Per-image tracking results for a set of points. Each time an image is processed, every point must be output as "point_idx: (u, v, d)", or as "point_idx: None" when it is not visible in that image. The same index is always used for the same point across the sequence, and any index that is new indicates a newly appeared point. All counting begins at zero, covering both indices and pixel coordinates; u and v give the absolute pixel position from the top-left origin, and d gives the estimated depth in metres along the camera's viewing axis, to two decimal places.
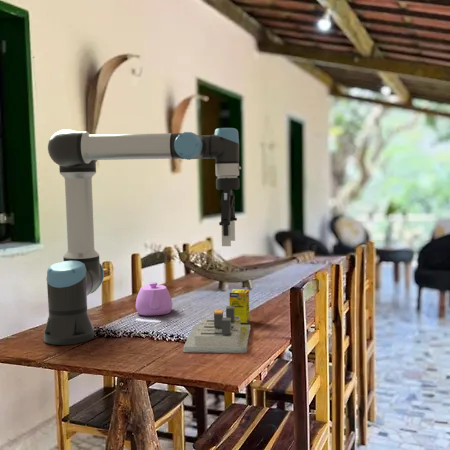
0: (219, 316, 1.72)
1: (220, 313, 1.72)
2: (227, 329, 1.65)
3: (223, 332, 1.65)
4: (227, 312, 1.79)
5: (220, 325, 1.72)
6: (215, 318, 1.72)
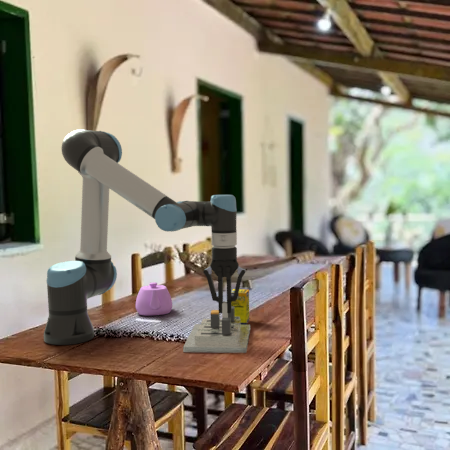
0: (216, 316, 1.72)
1: (217, 313, 1.72)
2: (227, 329, 1.65)
3: (223, 332, 1.65)
4: None
5: (217, 325, 1.73)
6: (212, 318, 1.72)
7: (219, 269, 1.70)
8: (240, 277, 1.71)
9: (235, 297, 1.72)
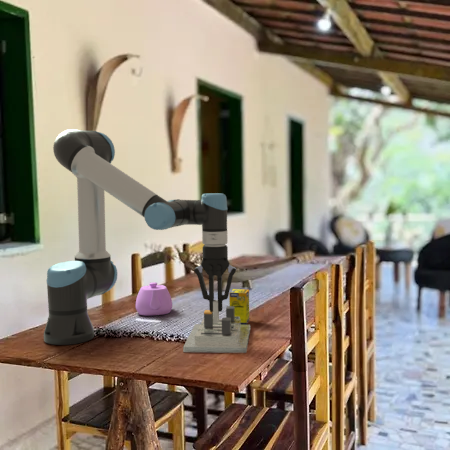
0: (209, 316, 1.72)
1: (210, 313, 1.72)
2: (227, 329, 1.65)
3: (223, 332, 1.65)
4: (227, 312, 1.79)
5: (210, 325, 1.73)
6: (205, 318, 1.73)
7: (210, 267, 1.71)
8: (231, 275, 1.71)
9: (226, 295, 1.72)
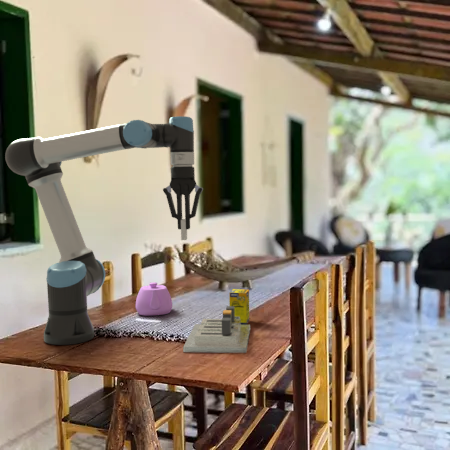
0: (228, 316, 1.72)
1: (229, 313, 1.72)
2: (227, 329, 1.65)
3: (223, 332, 1.65)
4: None
5: None
6: None
7: (177, 187, 1.81)
8: (197, 194, 1.82)
9: (193, 214, 1.82)
